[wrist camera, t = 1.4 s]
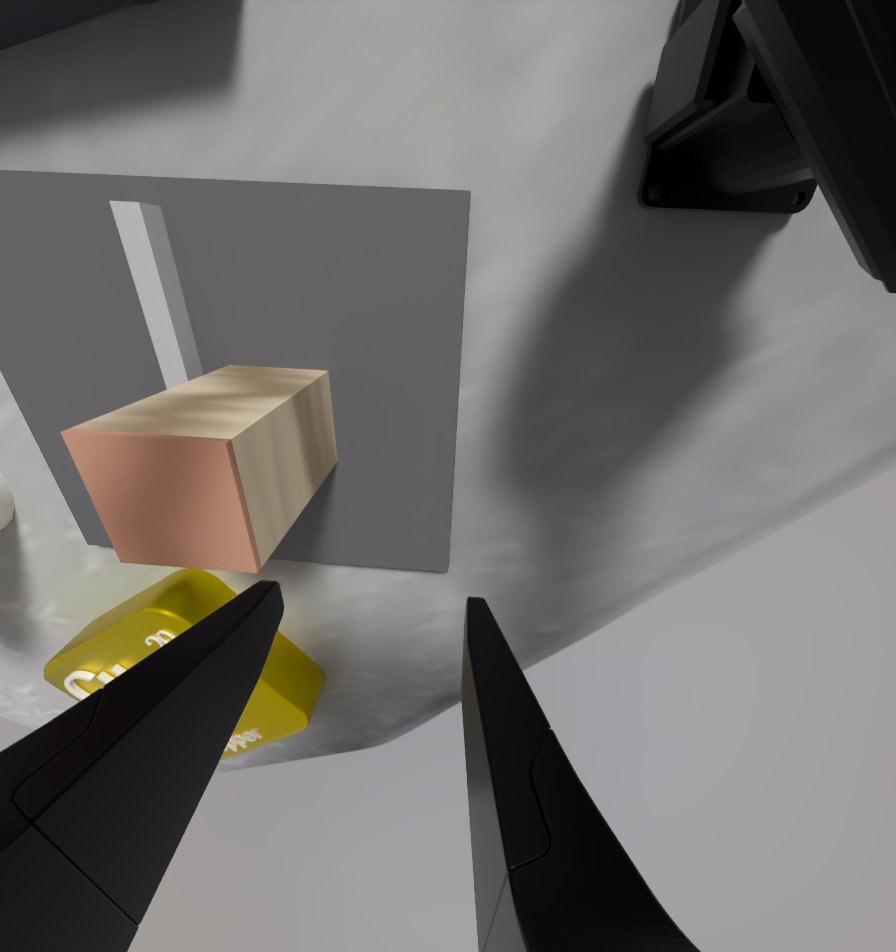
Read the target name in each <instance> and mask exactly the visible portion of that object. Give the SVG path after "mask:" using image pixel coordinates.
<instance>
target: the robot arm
mask: <svg viewBox="0 0 896 952" xmlns="http://www.w3.org/2000/svg"><path fill="white" fill-rule="evenodd" d="M643 138H644V140H645V142H646V144H647V145H649V148H648V152H647V156H646V161H645V165H644V170H643V174H642V178H641V183H640V187H639V192H638V201H639V204H640V205H641V206H642V207H643V208H647V209H666V210H688V211H710V212H733V213H755V214H777V215H788V214H793V213H798V212H800V211H802V210H804V209H805V208H806V207H807V206H808V204H809V203H810V201H811V199H812V197H813V194H814V192H815V189H816V187H817V184H818V186H819V188H820V189H821V191H822V193H823V195H824V197H825V199H826V201H827V203H828V205H829V207H830V209H831V211H832V213H833V215H834V217H835V219H836V221H837V223H838V225H839V227H840V228H841V230H842V232H843V234H844V236H845V238H846V240H847V242H848V244H849V246H850V248H851V250H852V252H853V254H854V256H855V258H856V260H857V262H858V264H859V266H861V267H862V268H863V269H864V270H865V271H866V272H867V273H868V274H870V275H871V276H872V277H873V278H874V279H877V280H880V281H882V283H883V285H884V287H885V289H886V291H888V292H889V293H896V0H682V2H681V7H680V11H679V15H678V20H677V24H676V29H675V33H674V35H673V36H672V37H671V39H670V40H669V41H668V42H667V43H666V44H665V46H664V47H663V50H662V54H661V58H660V63H659V68H658V72H657V77H656V81H655V86H654V90H653V95H652V99H651V104H650V108H649V113H648V118H647V122H646V127H645V131H644V136H643ZM651 186H655V187H656V188H657V196H656V198H655V199H654V200H652V199H650V198H649V197H648V191H649V189H650V187H651ZM795 193H797V194H798V201H797V202H796V204H795V205H792V203H791V199H792V196H793V195H794V194H795ZM283 612H284V602H283V598H282V593H281V589H280V585H279V583H278V582H276V581H268V580H261V581H259V582H257V583H255V584H254V585H252V586H251V587H250V588H248V589H247V590H245V591H244V592H242V593H241V594H239V595H238V596H236V597H235V598H233V599H232V600H230V601H229V602H227V603H226V604H224V605H223V606H221V607H220V608H218V609H217V610H215V611H214V612H212V613H211V614H209V615H208V616H206V617H205V618H203V619H202V620H201V621H199V622H198V623H196V624H195V625H193V626H192V627H190V628H189V629H187V630H186V631H184V632H183V633H181V634H180V635H178V636H177V637H175V638H174V639H172V640H171V641H169V642H168V643H166V644H165V645H163V646H162V647H160V648H159V649H157V650H156V651H154V652H153V653H152V654H150V655H149V656H147V657H146V658H144V659H143V660H141V661H140V662H138V663H137V664H135V665H134V666H132V667H131V668H129V669H128V670H126V671H125V672H123V673H122V674H120V675H119V676H117V677H116V678H114V679H113V680H111V681H110V682H108V683H107V684H105V685H104V687H103V689H102V688H100V689H98V690H96V691H95V692H93V693H92V694H90V695H89V696H87V697H86V698H84V699H83V700H81V701H80V702H79V703H77V704H75V705H74V706H72V707H71V708H69V709H68V710H66V711H65V712H63V713H62V714H60V715H59V716H57V717H56V718H54V719H52V720H51V721H49V722H48V723H46V724H45V725H43V726H42V727H40V728H38V729H37V730H35V731H34V732H32V733H30V734H29V735H27V736H25V737H24V738H22V739H20V740H19V741H17V742H16V743H14V744H13V745H11V746H9V747H8V748H6V749H4V750H3V751H1V752H0V952H127V951H128V949H129V947H130V944H131V942H132V940H133V938H134V936H135V934H136V932H137V930H138V925H139V924H140V923H141V921H142V919H143V917H144V915H145V913H146V911H147V909H148V907H149V905H150V903H151V901H152V899H153V897H154V894H155V892H156V890H157V888H158V886H159V884H160V882H161V880H162V878H163V876H164V874H165V872H166V870H167V868H168V866H169V864H170V861H171V859H172V857H173V855H174V853H175V851H176V849H177V847H178V845H179V843H180V841H181V839H182V836H183V835H184V833H185V830H186V828H187V826H188V824H189V822H190V820H191V818H192V816H193V814H194V812H195V810H196V808H197V806H198V804H199V801H200V799H201V798H202V795H203V793H204V791H205V789H206V787H207V785H208V783H209V781H210V779H211V777H212V775H213V773H214V771H215V769H216V767H217V765H218V763H219V760H220V758H221V756H222V754H223V752H224V750H225V748H226V746H227V744H228V742H229V740H230V738H231V736H232V734H233V732H234V730H235V727H236V725H237V723H238V721H239V719H240V717H241V715H242V713H243V711H244V709H245V707H246V705H247V703H248V701H249V699H250V697H251V694H252V692H253V690H254V688H255V686H256V684H257V682H258V680H259V678H260V675H261V673H262V670H263V668H264V665H265V662H266V660H267V657H268V654H269V651H270V649H271V646H272V643H273V640H274V638H275V635H276V632H277V629H278V627H279V624H280V621H281V618H282V616H283ZM461 693H462V711H463V727H464V741H465V756H466V771H467V786H468V800H469V815H470V830H471V845H472V859H473V874H474V889H475V903H476V919H477V933H478V948H479V952H701V951H700V950H699V949H698V948H696V946H695V945H694V944H693V943H692V942H691V941H690V940H689V939H688V938H687V937H686V936H685V934H684V933H683V932H682V931H681V930H680V929H679V927H678V926H677V925H676V924H675V922H674V921H673V920H672V919H671V918H670V916H669V915H668V914H667V912H666V911H665V910H664V908H663V907H662V906H661V904H660V903H659V901H658V900H657V899H656V897H655V896H654V894H653V893H652V891H651V890H650V888H649V887H648V885H647V884H646V882H645V881H644V879H643V877H642V876H641V874H640V873H639V871H638V870H637V868H636V867H635V865H634V864H633V862H632V861H631V859H630V857H629V856H628V854H627V853H626V851H625V850H624V848H623V847H622V845H621V843H620V842H619V841H618V839H617V838H616V836H615V834H614V833H613V831H612V830H611V828H610V827H609V825H608V823H607V822H606V820H605V819H604V817H603V816H602V814H601V813H600V811H599V810H598V808H597V806H596V805H595V803H594V802H593V800H592V799H591V797H590V795H589V794H588V792H587V790H586V789H585V787H584V786H583V784H582V782H581V781H580V779H579V777H578V776H577V774H576V772H575V770H574V769H573V767H572V765H571V763H570V761H569V760H568V758H567V756H566V754H565V752H564V751H563V749H562V747H561V745H560V743H559V741H558V739H557V737H556V735H555V733H554V731H553V730H552V729H550V727H551V726H550V724H549V722H548V720H547V718H546V716H545V714H544V712H543V711H542V709H541V707H540V705H539V703H538V701H537V699H536V697H535V695H534V693H533V691H532V689H531V687H530V685H529V684H528V682H527V680H526V678H525V676H524V674H523V672H522V670H521V668H520V666H519V664H518V662H517V660H516V658H515V657H514V655H513V653H512V651H511V649H510V647H509V645H508V643H507V641H506V639H505V637H504V635H503V633H502V632H501V630H500V628H499V626H498V624H497V622H496V620H495V618H494V616H493V614H492V612H491V610H490V608H489V606H488V605H487V603H486V601H485V599H484V598H480V597H468V598H467V601H466V612H465V623H464V642H463V664H462V691H461Z"/></svg>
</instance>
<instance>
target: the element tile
mask: <svg viewBox="0 0 896 952" xmlns="http://www.w3.org/2000/svg"><path fill="white" fill-rule="evenodd" d="M236 596H238V595H237V594H236V593H235V592H233V591H232V590H231V589H230V588H229V587H228V586H227V585H225V584H224V583H223V582H222V581H221V580H220V579H219V578H217V577H215V576H214V575H212V574H210V573H208V572H206V571H204V570H201V569H196V568H186V569H181V570H178V571H176V572H174V573H173V574H171V575H169V576H168V577H166V578H164V579H162V580H161V581H159V582H157V583H156V584H154V585H152V586H151V587H149V588H147V589H146V590H144V591H142V592H141V593H139V594H137V595H135V596H134V597H132V598H130V599H129V600H127V601H125V602H124V603H122V604H120V605H119V606H117V607H115V608H114V609H112V610H110V611H108V612H107V613H105V614H103V615H102V616H100V617H98V618H97V619H95V620H93V621H92V622H91V623H90V624H89V625H88V626H86V627H85V628H84V629H83V630H82V631H81V632H80V633H79V634H78V635H77V636H76V637H75V638H73V639H72V640H71V641H70V642H69V643H68V644H67V645H66V646H65V647H64V648H63V649H62V650H60V651H59V652H58V653H57V654H56V655H55V656H54V657H53V658H52V659H51V660H50V661H49V662H48V663H47V664H46V665H45V667H44V679H45V680H46V681H47V682H49V683H50V684H52V685H53V686H55V687H56V688H58V689H59V690H61V691H63V692H64V693H66V694H68V695H69V696H71V697H73V698H74V699H76V700H77V701H79V702H80V701H81V700H83V699H84V698H86V697H87V696H89V695H90V694H92V693H93V692H95V691H96V690H98V689H100V688H102V689H103V687H104V685H105V684H107V683H108V682H110V681H111V680H113V679H114V678H116V677H117V676H119V675H120V674H122V673H123V672H125V671H126V670H128V669H129V668H131V667H132V666H134V665H135V664H137V663H138V662H140V661H141V660H143V659H144V658H146V657H147V656H149V655H150V654H152V653H153V652H154V651H156V650H157V649H159V648H160V647H162V646H163V645H165V644H166V643H168V642H169V641H171V640H172V639H174V638H175V637H177V636H178V635H180V634H181V633H183V632H184V631H186V630H187V629H189V628H190V627H192V626H193V625H195V624H196V623H198V622H199V621H201V620H202V619H203V618H205V617H206V616H208V615H209V614H211V613H212V612H214V611H215V610H217V609H218V608H220V607H221V606H223V605H224V604H226V603H227V602H229V601H230V600H232V599H233V598H235V597H236ZM324 681H325V675H324V673H323V671H322V669H321V668H320V667H319V666H318V665H317V664H316V663H315V662H313V661H312V660H311V659H310V658H309V657H308V656H307V655H305V654H304V653H303V652H302V651H301V650H300V649H299V648H297V647H296V646H295V645H294V644H293V643H292V642H291V641H289V640H288V639H287V638H286V637H285V636H284V635H283V634H281V633H280V632H279V631H278V630H277V632H276V635H275V638H274V640H273V643H272V646H271V649H270V651H269V654H268V657H267V660H266V662H265V665H264V668H263V670H262V673H261V675H260V678H259V680H258V682H257V684H256V686H255V688H254V690H253V692H252V694H251V697H250V699H249V701H248V703H247V705H246V707H245V709H244V711H243V713H242V715H241V717H240V719H239V721H238V723H237V725H236V727H235V730H234V732H233V734H232V736H231V738H230V740H229V742H228V744H227V746H226V748H225V750H224V752H223V754H222V756H221V758H220V760H222V759H225V758H228V757H231V756H234V755H236V754H239V753H242V752H245V751H248V750H251V749H254V748H257V747H260V746H263V745H266V744H269V743H271V742H274V741H277V740H280V739H283V738H286V737H289V736H292V735H295V734H298V733H300V732H302V731H304V730H305V728H306V727H307V726H308V725H309V722H310V720H311V717H312V714H313V711H314V709H315V706H316V703H317V700H318V698H319V695H320V692H321V689H322V687H323V684H324Z"/></svg>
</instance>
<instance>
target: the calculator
mask: <svg viewBox="0 0 896 952" xmlns="http://www.w3.org/2000/svg"><path fill="white" fill-rule="evenodd" d="M157 1H160V0H0V50H2V49H4V48H7V47H10V46H13V45H15V44H18V43H21V42H24V41H26V40H29V39H32V38H34V37H37V36H40V35H43V34H45V33H48V32H51V31H53V30H56V29H59V28H62V27H64V26H67V25H70V24H73V23H75V22H78V21H81V20H83V19H86V18H89V17H92V16H94V15H97V14H100V13H102V12H105V11H108V10H111V9H113V8H116V7H119V6H122V5H125V4H128V3H139V4H150V3H153V2H157Z"/></svg>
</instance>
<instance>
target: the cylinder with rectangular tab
mask: <svg viewBox="0 0 896 952" xmlns="http://www.w3.org/2000/svg"><path fill="white" fill-rule="evenodd" d="M14 508H15V505H14V500H13V496H12V492H11V490H10V488H9V486H8V484H7V482H6V480H5V478H4V476H3V475H2V474H1V473H0V530H1V529H2V528H4V527H6V526H7V525H8V523H9V522H10V521H11V520H12V518H13V514H14Z"/></svg>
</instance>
